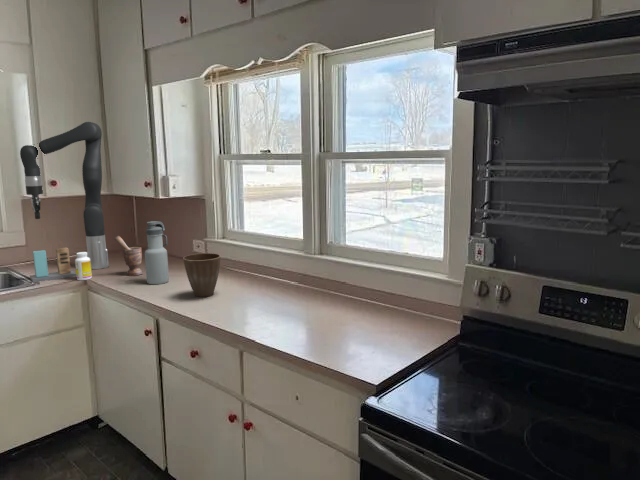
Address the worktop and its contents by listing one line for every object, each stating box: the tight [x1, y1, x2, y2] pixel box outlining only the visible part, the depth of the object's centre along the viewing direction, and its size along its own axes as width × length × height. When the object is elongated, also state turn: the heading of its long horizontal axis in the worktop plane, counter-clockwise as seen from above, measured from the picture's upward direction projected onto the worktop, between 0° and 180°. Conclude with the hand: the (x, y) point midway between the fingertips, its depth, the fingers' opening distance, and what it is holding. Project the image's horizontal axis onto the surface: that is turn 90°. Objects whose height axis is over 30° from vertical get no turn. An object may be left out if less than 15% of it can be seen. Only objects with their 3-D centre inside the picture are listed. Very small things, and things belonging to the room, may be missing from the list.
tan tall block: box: [55, 247, 72, 274], centre depth 251 cm, size 5×4×12 cm
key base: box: [29, 269, 77, 283], centre depth 249 cm, size 19×10×2 cm, turn 126°
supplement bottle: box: [74, 251, 93, 281], centre depth 244 cm, size 7×7×13 cm
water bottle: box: [144, 220, 170, 286], centre depth 233 cm, size 10×10×28 cm
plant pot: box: [182, 252, 221, 298], centre depth 210 cm, size 15×15×16 cm
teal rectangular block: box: [32, 249, 49, 277], centre depth 245 cm, size 5×4×12 cm
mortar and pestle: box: [114, 235, 144, 277], centre depth 249 cm, size 12×9×20 cm
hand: (37, 218), depth 264 cm, fingers closed
